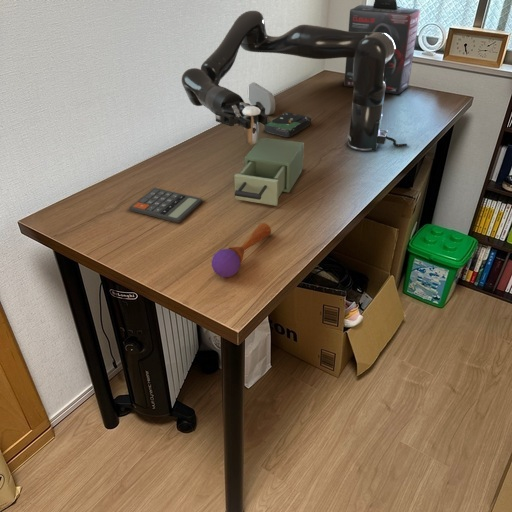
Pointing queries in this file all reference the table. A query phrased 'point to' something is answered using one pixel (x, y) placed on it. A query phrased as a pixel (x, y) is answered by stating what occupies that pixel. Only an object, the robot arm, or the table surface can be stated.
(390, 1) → the headset box
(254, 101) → the gray flat panel
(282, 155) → the cabinet
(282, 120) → the disk drive
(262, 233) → the kendama
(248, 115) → the milkshake
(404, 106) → the table surface
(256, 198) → the drawer
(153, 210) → the calculator
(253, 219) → the table surface
